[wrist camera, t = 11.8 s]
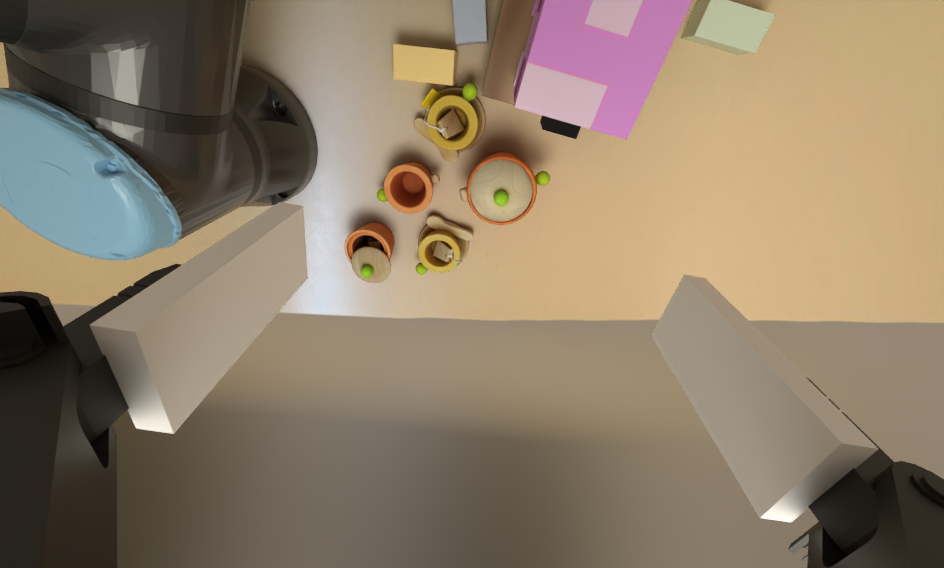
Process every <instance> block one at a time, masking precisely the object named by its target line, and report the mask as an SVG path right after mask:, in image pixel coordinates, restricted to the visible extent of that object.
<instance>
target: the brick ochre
mask: <svg viewBox="0 0 944 568" xmlns="http://www.w3.org/2000/svg"><path fill="white" fill-rule="evenodd" d="M456 67H457V52H456V51H455V50H445V49H436V48H427V47H418V46H408V45H399V44H393V76H394V79H397V80H406V81H415V82H424V83H434V84H443V85H452V86H453V85H455V83H456Z"/></svg>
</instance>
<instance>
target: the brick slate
mask: <svg viewBox="0 0 944 568" xmlns="http://www.w3.org/2000/svg"><path fill="white" fill-rule="evenodd" d="M452 2H453V15H454V28H455V42H456V44H457V45H469V44H481V43H488V37H487V11H486V0H452Z"/></svg>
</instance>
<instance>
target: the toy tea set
mask: <svg viewBox="0 0 944 568" xmlns="http://www.w3.org/2000/svg"><path fill="white" fill-rule="evenodd" d="M477 92H478V90H477V87H476V86H475V85H474V84H472V83H468V84H466V85H465V86H464V87H463V89H462V88H457V87H451V88H447V89H444V90H442V91H440V92H437V91H436V90H434V89H433V88H432V89H431V91H430V92H429V94H428V95H427V97H426V98H425V99H424V101H423V102H422V104H421V106H423V107H424V108H426V114H425V118H424V119H423V118H420V117H419V118H417V119H416V120H415V121H414V126H415V128H416V130H417V131H418V132H419V133H421V134H422V135H423V136H424V137H426V138H427V139H428V140H430V141H431V142H432V143H433V144H435V145H436V146H437V147H438V148H439V150H440V152H441V155H442V157H443V158H444V159H445V160H446V161H448V162H455V161H456V160H457V159H458V156H459V154H458V152H463V151H466V150H468V149H470V148H472V147H473V146H475V145H476V144H477V143H478V141H479V140H480V138H481V137H482V134H483V132H484V128H485V115H484V110H483V107H482V105H481V103H480V101H479V100H478V99H477V98H476V96H477ZM549 180H550V175H549V174H548V172H546V171H541V172H539V173H538V174H537V175H536V176H534V174H533V172H532V170H531V169H530V168H529V166H528V165H527V164H526V163H525V162H524V161H522V160H521V159H519V158H517V157H516V156H514V155H512V154H510V153H506V152H498V153H494V154H492V155H490V156H488V157H486V158H485V159H484V160H482V161H481V162H480V163H479V164H478V165H476V167H475V168H474V169H473V170H472V172H471V174H470V176H469V179H468V182H467V187H464V188H462V189H460V196H461V199H462V201H464V202H466V201H468V202H469V205H470V207H471V208H472V210H473V211H474V213H475V214H476V215H477V216H478V217H480V218H481V219H482V220H484V221H486V222H488V223H492V224H497V225H505V224H510V223H513V222H516V221H518V220H519V219H521V218H522V217H524V216H525V215H526V214H527V213H528V212H529V210H530V209H531V208H532V206H533V204H534V202H535V199H536V194H537V184H539V185H546V184H547V183H548V182H549ZM439 181H440V177H439V175H438V174H434V175H431V173H430V172H429V170H428V169H427V168H426V167H425V166H423V165H421V164H419V163H415V162H411V163H405V164H402V165H398V166H396V167H394V168H393V169H391V170H390V171H389V173H388V174H387V176H386V178H385V181H384V189H380V190H379V191H378V192H377V197H378V199H379V200H380V201H383V202H385V201H389V203H390V204H391V205H392V206H393V207H394V208H395V209H397V210H398V211H400V212H403V213H407V214H413V213H418V212H420V211H422V210H424V209H425V208H426V207H427V206H428V205H429V203H430V202H431V199H432V195H433V184H434V183H438V182H439ZM426 222H427V224H428V225H427V226H425V227H424V229H423V230H422V232H421V233H420V236H419V240H418V246H419V248H418V256H419V259H420V261H421V263H419V264H418V265H417V266H416V271H417V272H418V273H419V274H425V273H426V272H427V270H428V269H429V270H431V271H434V272H439V273H442V272H447V271H448V272H449V271H450V270H452V269H453V268H454V267H456V266H457V265H459V264H460V263H461V262H462V260H463V259H464V258H465V256H466V254H467V251H468V241H470V240H472V238H473V233H472V232H471V231H469V230H467V229H464V228H461V227H459V226H458V225H456V224H455V223H452V222H450V221H445V220H443V219H442V218H441V217H439V216H436V215H432V216H429V217H428V218H427V220H426ZM393 244H394V237H393V234H392V232H391V231H390V229H389V228H388V227H386V226H385V225H383V224H381V223H377V222H372V223H368V224H366V225H364V226H363V227H361V228H359V229H357V230H356V231H354V232H352V233H351V234H350V235H349V236H348V237H347V239H346V241H345V253H346V256H347V258H348V259H349V261H350V262H351V264H352V268H353V270H354V272H355V274H356V275H357V276H358V277H359V278H361V279H362V280H364V281H367V282H370V283H378V282H382V281H384V280H385V279H386V278H387V277H388V276H389V274H390V271H391V264H390V258H391V254H392V249H393Z"/></svg>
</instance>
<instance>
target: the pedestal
mask: <svg viewBox="0 0 944 568" xmlns="http://www.w3.org/2000/svg"><path fill="white" fill-rule="evenodd" d="M534 2H535V0H503V4H502V8H501V13H500V17H499V21H498V26H497V30H496V34H495V39H494V43H493V47H492V52H491V56H490V60H489V65H488V69H487V73H486V78H485V82H484V86H483V91H482V95H481V96H485V97H488V98H492V99H495V100H499V101H502V102H506V103H510V104H513V105H514V87H515V86H513V81H514V78H515V74H516V70H517V67H518V63H519V59H520V56H521V52H522V51H525V47H526V44H527V40H528V36H529V33H530V29H531V26H532V22H533V18H534V17H533V16H531V13H532V9H533V5H534Z"/></svg>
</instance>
